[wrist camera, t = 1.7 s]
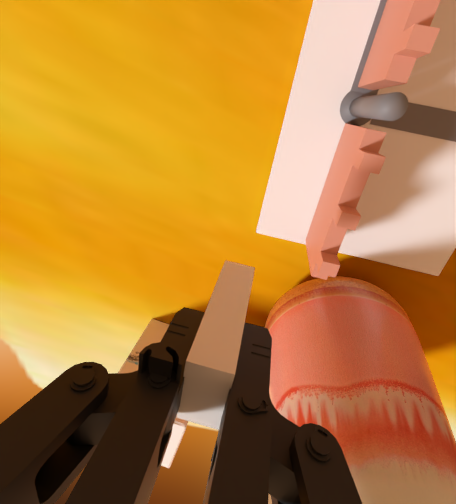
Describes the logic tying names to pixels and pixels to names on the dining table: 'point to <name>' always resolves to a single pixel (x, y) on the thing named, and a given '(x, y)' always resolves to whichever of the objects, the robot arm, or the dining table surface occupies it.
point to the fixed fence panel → (395, 56)
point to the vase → (363, 388)
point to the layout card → (393, 147)
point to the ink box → (149, 336)
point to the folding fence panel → (342, 196)
